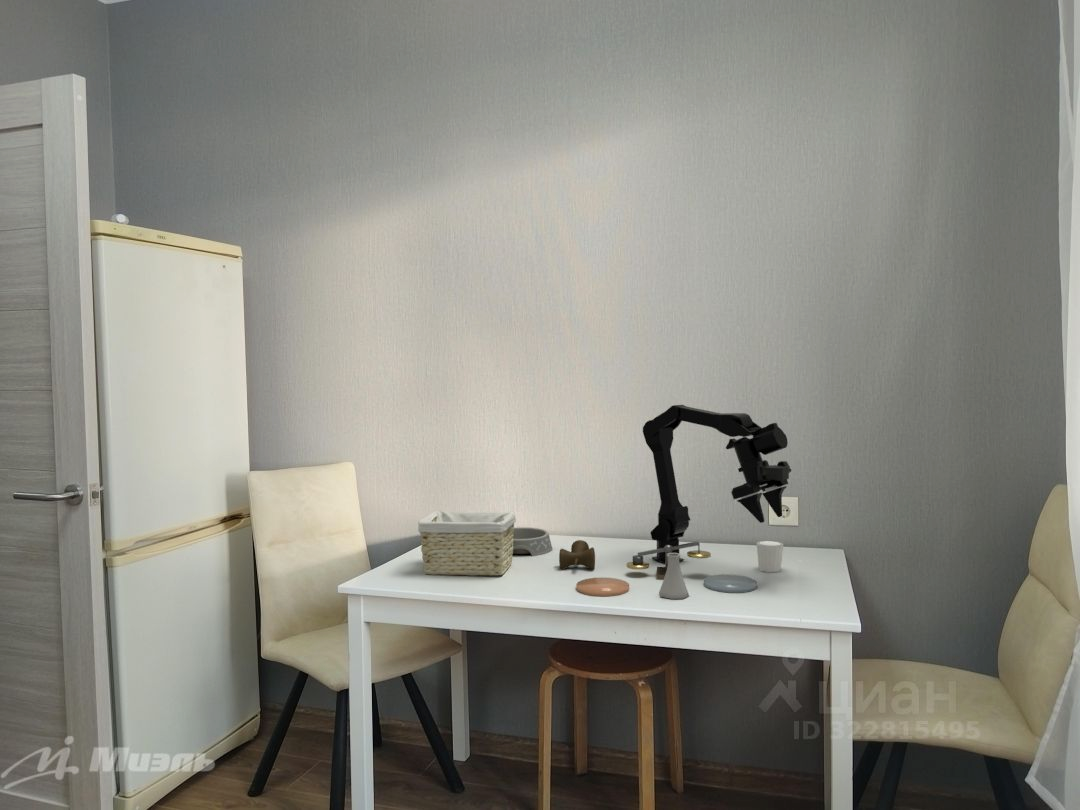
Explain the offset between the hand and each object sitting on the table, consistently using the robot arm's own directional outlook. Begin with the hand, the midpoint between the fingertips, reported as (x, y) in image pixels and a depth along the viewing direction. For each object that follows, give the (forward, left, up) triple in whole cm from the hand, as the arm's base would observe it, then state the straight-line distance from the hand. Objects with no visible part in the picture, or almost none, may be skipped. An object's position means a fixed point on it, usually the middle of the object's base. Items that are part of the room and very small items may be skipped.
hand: (771, 519), depth 208 cm
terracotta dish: (-15, -41, -16) cm, 46 cm away
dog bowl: (-62, -41, -16) cm, 76 cm away
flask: (-2, -29, -16) cm, 33 cm away
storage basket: (-49, -63, -16) cm, 81 cm away
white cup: (-9, +7, -16) cm, 19 cm away
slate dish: (-2, -12, -16) cm, 20 cm away
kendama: (-38, -35, -16) cm, 54 cm away
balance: (-17, -20, -16) cm, 30 cm away
